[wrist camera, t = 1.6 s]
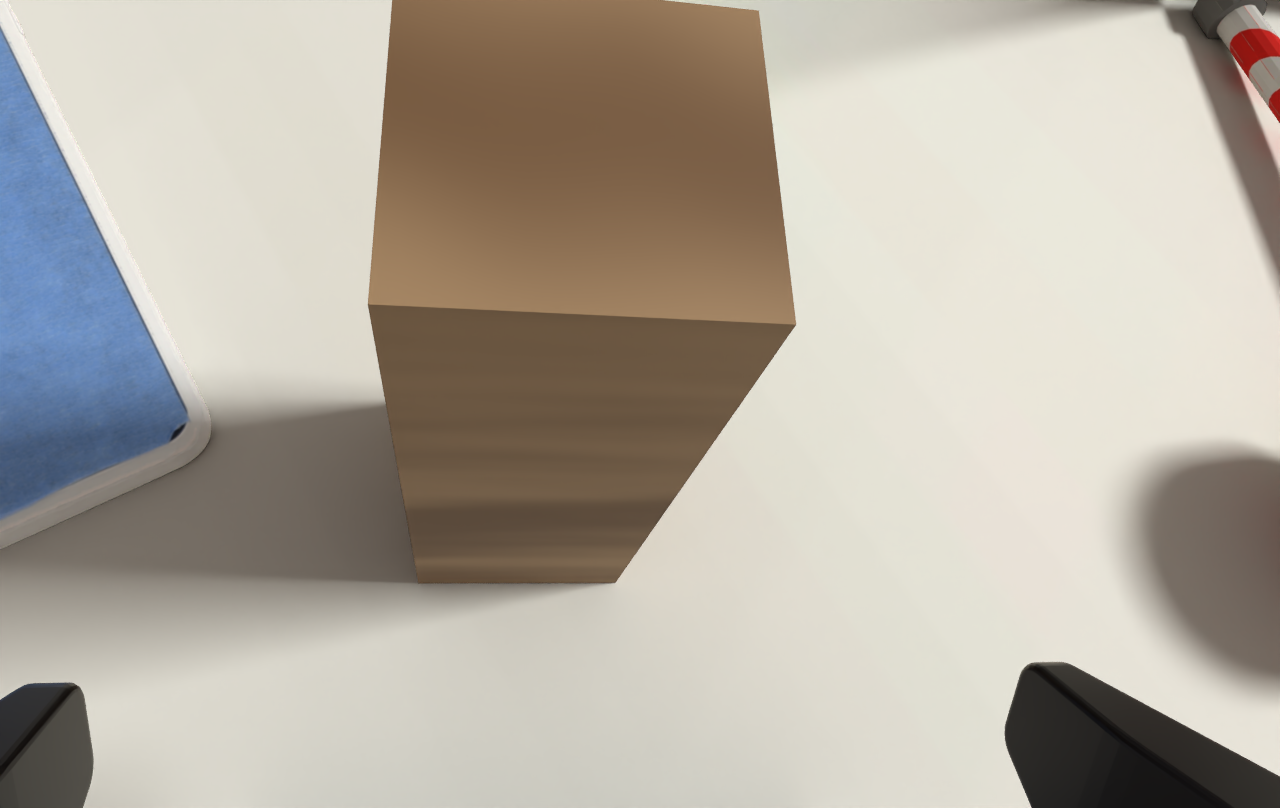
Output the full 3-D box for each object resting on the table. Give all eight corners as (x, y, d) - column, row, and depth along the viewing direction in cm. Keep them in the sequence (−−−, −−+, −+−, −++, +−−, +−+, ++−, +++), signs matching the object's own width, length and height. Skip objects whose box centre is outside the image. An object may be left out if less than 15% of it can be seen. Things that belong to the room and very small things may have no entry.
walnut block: (615, 582, 22) (796, 324, 10) (418, 583, 21) (367, 304, 9) (609, 405, 24) (759, 10, 12) (427, 400, 23) (394, -29, 11)
